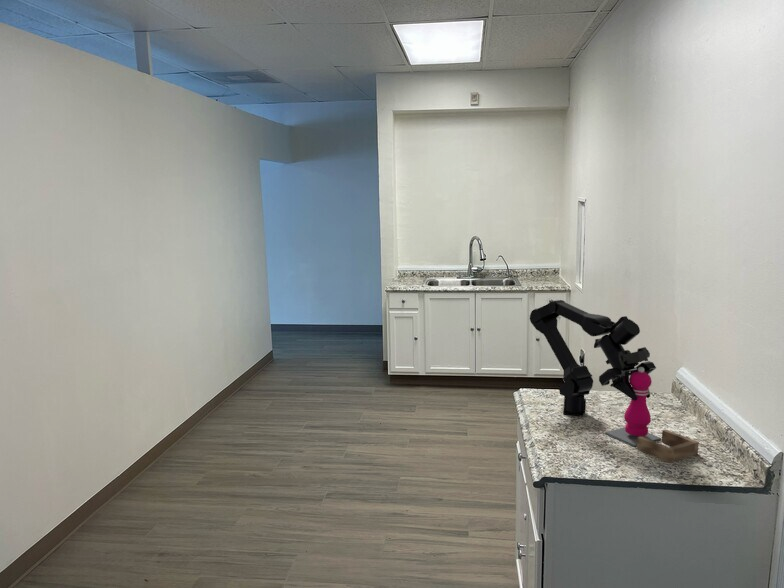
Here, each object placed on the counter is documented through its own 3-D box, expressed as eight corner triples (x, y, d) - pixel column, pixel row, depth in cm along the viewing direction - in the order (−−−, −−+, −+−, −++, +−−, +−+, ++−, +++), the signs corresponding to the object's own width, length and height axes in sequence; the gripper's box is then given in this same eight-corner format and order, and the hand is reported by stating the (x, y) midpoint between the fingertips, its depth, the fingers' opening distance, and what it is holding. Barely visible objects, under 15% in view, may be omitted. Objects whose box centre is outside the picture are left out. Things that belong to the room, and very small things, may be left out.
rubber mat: (604, 434, 182) (605, 432, 182) (630, 427, 187) (630, 425, 187) (635, 447, 172) (635, 445, 172) (660, 439, 178) (661, 438, 177)
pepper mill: (648, 429, 181) (654, 364, 177) (650, 438, 174) (655, 371, 170) (623, 425, 183) (627, 362, 180) (623, 435, 176) (628, 369, 173)
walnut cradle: (636, 448, 171) (637, 437, 171) (664, 440, 177) (665, 429, 176) (669, 462, 162) (670, 450, 162) (697, 454, 168) (698, 442, 167)
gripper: (609, 342, 173) (638, 390, 165) (653, 335, 182) (682, 380, 174) (586, 361, 181) (613, 408, 173) (629, 354, 190) (657, 398, 182)
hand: (642, 398), depth 176 cm, fingers closed on pepper mill, 5 cm apart
